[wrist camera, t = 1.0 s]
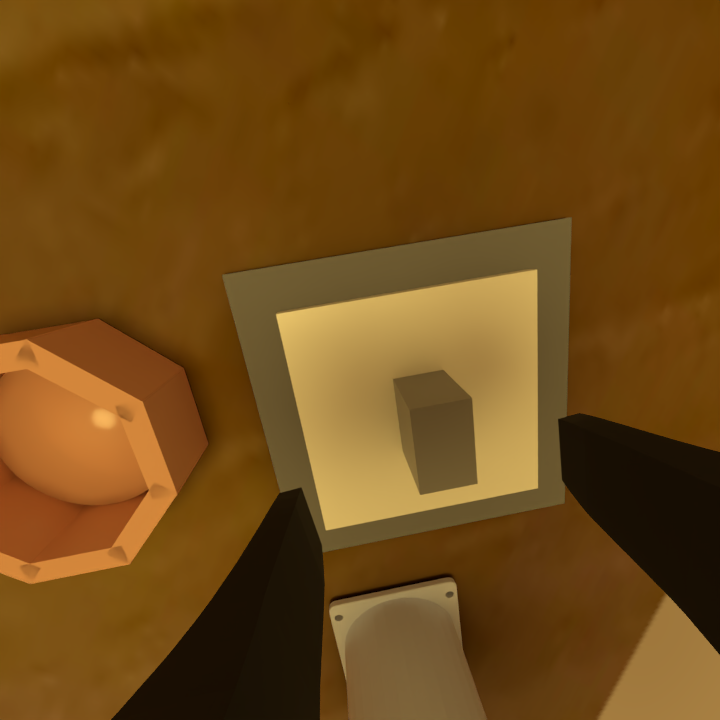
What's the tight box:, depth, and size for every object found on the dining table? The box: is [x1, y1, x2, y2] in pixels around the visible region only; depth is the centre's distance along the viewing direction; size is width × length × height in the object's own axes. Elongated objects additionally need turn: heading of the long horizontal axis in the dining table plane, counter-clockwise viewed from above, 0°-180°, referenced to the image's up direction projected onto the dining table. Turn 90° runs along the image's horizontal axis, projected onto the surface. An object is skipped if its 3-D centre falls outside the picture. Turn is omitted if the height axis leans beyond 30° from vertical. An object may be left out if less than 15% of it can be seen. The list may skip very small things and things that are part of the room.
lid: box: [276, 269, 538, 530], centre depth 16 cm, size 12×12×4 cm
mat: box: [222, 217, 572, 552], centre depth 18 cm, size 16×16×1 cm
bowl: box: [0, 319, 209, 584], centre depth 15 cm, size 10×10×4 cm
